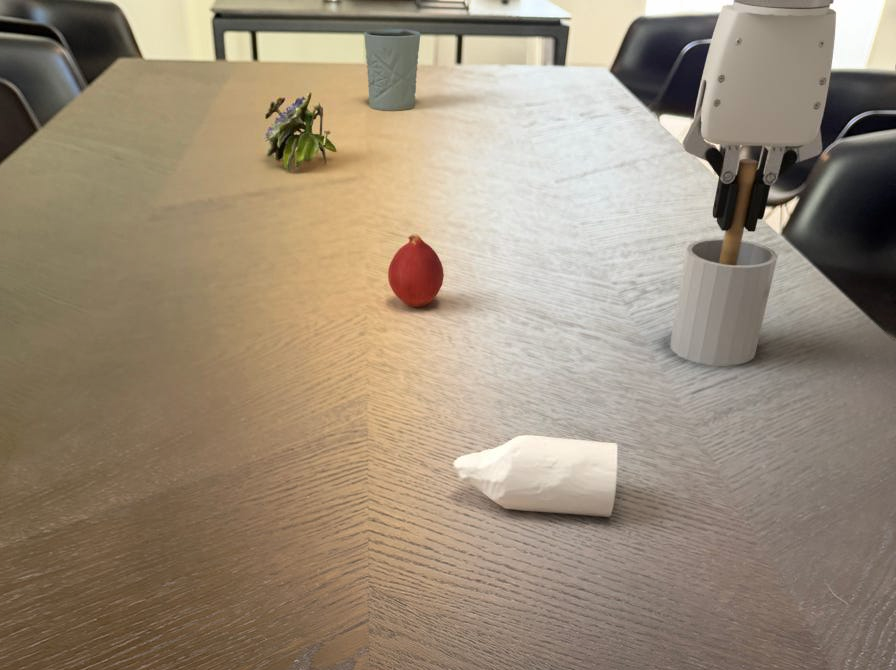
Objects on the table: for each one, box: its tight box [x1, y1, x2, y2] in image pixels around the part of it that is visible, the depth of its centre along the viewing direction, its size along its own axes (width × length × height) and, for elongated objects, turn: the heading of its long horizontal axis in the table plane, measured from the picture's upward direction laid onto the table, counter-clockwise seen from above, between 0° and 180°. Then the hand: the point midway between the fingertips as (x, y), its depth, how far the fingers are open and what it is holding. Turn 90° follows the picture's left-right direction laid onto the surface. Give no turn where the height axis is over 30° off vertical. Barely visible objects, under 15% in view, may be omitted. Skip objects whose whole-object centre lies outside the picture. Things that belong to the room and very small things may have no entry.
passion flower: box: [264, 91, 337, 173], centre depth 154 cm, size 11×11×12 cm
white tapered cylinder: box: [453, 434, 619, 518], centre depth 75 cm, size 6×12×6 cm, turn 83°
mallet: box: [719, 158, 759, 265], centre depth 93 cm, size 4×4×15 cm
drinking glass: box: [363, 28, 421, 112], centre depth 185 cm, size 10×10×12 cm
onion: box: [387, 233, 445, 308], centre depth 106 cm, size 6×6×8 cm
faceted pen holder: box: [669, 237, 779, 367], centre depth 97 cm, size 8×8×10 cm
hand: (735, 225), depth 92 cm, fingers closed on mallet
